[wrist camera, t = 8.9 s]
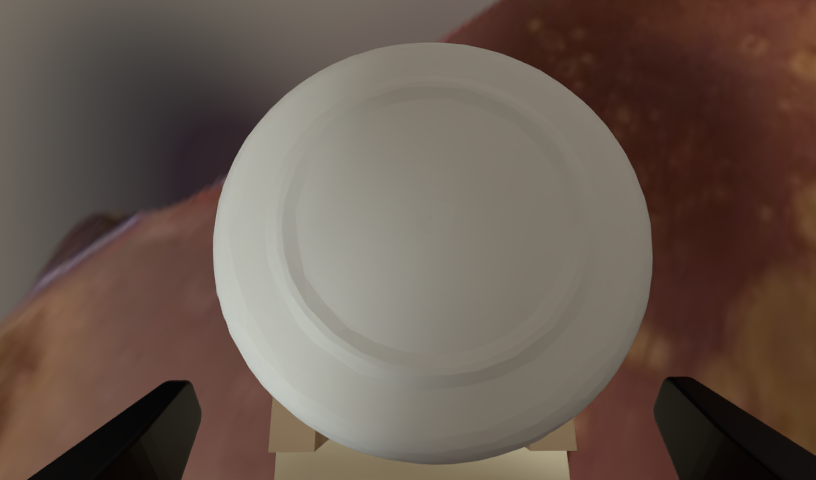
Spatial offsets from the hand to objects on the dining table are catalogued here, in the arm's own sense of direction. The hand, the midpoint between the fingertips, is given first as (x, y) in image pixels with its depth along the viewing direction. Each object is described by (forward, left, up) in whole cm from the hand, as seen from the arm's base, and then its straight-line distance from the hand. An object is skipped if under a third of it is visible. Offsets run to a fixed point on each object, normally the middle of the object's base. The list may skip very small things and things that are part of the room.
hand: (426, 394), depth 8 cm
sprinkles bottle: (+2, 0, -9) cm, 9 cm away
